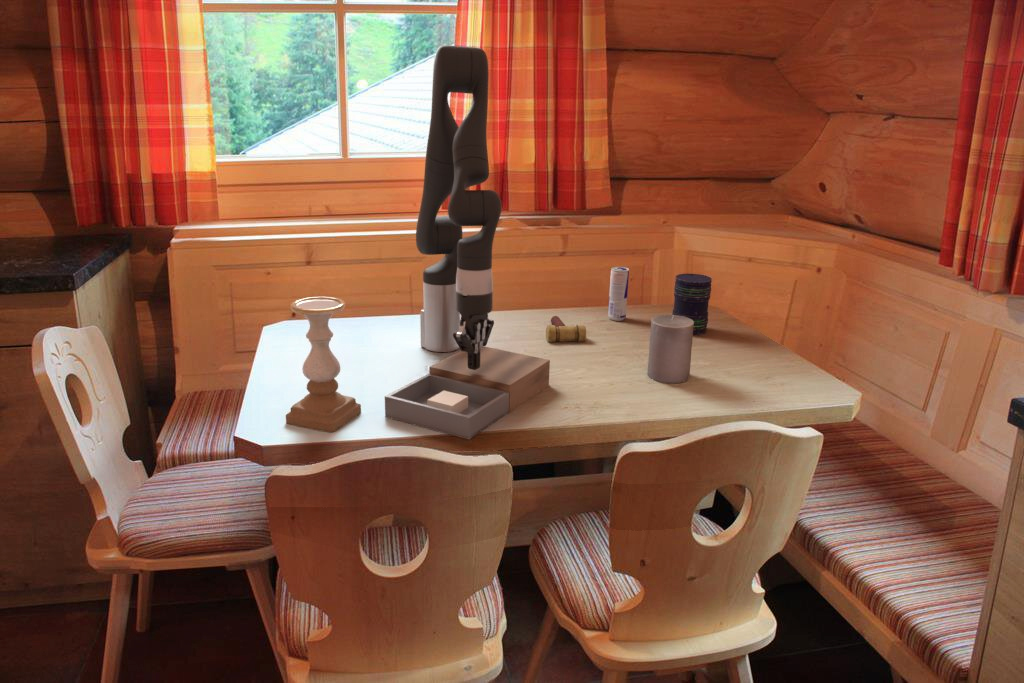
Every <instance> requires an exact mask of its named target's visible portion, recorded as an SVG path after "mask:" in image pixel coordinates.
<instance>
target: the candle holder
mask: <svg viewBox="0 0 1024 683" xmlns="http://www.w3.org/2000/svg"><path fill="white" fill-rule="evenodd" d="M345 307H346V302H345V301H344V300H343V299H341V298H338V297H333V296H309V297H302V298H298V299H296V300H294V301H292V302H291V303H290V310H291V311H292V312H293V313H296V314H298V315H304V317H305V319H306V320H308V323H309V329H308V331H307V333H306V334H305V338H306V339H307V340H308V342H309V343H310V345H311V348H310V352H309V353H308V355H307V356H306V358H305V360H304V362H303V364H302V374H303V376H304V377H305V378H306V379H307V380H308V382H307V383H306V390H307V391H308V392H309V393H308V394H306V395H305V396H304V397H303V398H302V399H300V400H299V401H297V402H296V403H294V404H293V405H291V407H290V411H289V412H288V413H286V414H285V423H286V424H287V425H290V426H294V427H300V428H305V429H310V430H314V431H315V430H317V431H321V432H327V433H334V432H335V431H337V430H339V429H341V428H342V427H343V426H345V425H347V423H349V422H350V421H352V420H353V419H355V418H356V417H357V416H359V415H360V414H361V413H362V406H361V403H358V402H357V400H356V398H355V397H353V396H348V395H343V394H341V393H340V392H338V391H337V390H338V389H339V382H338V381H337V379H336V378H337V376H339V374H340V373H341V363H340V361H339V359H338V358H337V357H336V356H335V353H333V351H332V350H331V348H330V342H331V341H332V339H333V337H334V332H333V331H332V329H330V327H329V321H330V319H331V318H332V316H333V314H335V313H339V312H341V311H342V310H344V309H345Z"/></svg>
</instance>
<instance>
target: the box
mask: <svg viewBox="0 0 1024 683" xmlns="http://www.w3.org/2000/svg"><path fill="white" fill-rule="evenodd" d="M442 391H448V392H452V393H456V394H461V395H465V396H468V408H467V409H465V410H463V411H462V412H460V413H456V412H452V411H448V410H444V409H440V408H436V407H432V406H428V405H427V400H428V399H430V398H431V397H433V396H435V395H437V394H439V393H440V392H442ZM509 413H510V412H509V392H505V391H501V390H497V389H493V388H488V387H484V386H480V385H475V384H471V383H467V382H462V381H458V380H454V379H450V378H445V377H441V376H437V375H432V374H429V373H427V374H425V375H423V376H421V377H419V378H417V379H415V380H414V381H411V382H410V383H407V384H406V385H404V386H402V387H400V388H398V389H395V390H394V391H392V392H391V393H390V392H389V393H388V394H386V395H384V414H385V416H384V417H385V418H387V419H390V420H391V419H392V420H396V421H397V422H398V421H399V422H403V423H406V424H410V425H414V426H418V427H421V428H423V429H428V430H432V431H436V432H439V433H443V434H447V435H451V436H453V437H454V436H455V437H458V438H462V439H465V440H468V441H469V440H471V439H472V438H474V437H476V436H477V435H478V434H480V433H481V432H482V431H484V430H486V429H488V427H490V426H491V425H493V424H494V423H496V422H497V421H499V420H500V419H502V418H503V417H505V416H506V415H508V414H509Z"/></svg>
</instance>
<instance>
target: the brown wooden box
mask: <svg viewBox="0 0 1024 683" xmlns="http://www.w3.org/2000/svg"><path fill="white" fill-rule="evenodd" d="M550 363H551V359H547V358H542V357H538V356H537V357H536V356H533V355H527V354H523V353H518V352H514V351H513V352H512V351H508V350H503V349H498V348H493V347H489V346H483V347H482V351H480V368H478V369H476V370H472V369H469V368H468V353H467V352H465V351H461V350H460V351H457V352H455V353H454V354H451V355H450V356H448V357H445V358H444V359H441V360H439V361H438V362H435V363H434V364H432V365H429V370H428V371H429V372H428V374H432V375H437V376H441V377H445V378H450V379H454V380H458V381H462V382H467V383H471V384H475V385H480V386H484V387H488V388H493V389H497V390H501V391H505V392H509V413H510V412H512V411H513V410H515V409H516V408H518V407H519V406H520V405H522V404H523V403H525V402H526V401H528V400H529V399H531V398H532V397H534V396H535V395H536V394H538V393H539V392H541V391H543V390H544V389H545V388H547V387H548V386H549V385H550V365H551V364H550Z"/></svg>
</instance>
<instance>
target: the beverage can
mask: <svg viewBox="0 0 1024 683" xmlns="http://www.w3.org/2000/svg"><path fill="white" fill-rule="evenodd" d="M610 269H611V270H610V276H609V277H610V278H609V279H610V280H609V295H608V298H609V299H608V309H607V311H608V312H607V317H608V318H609V319H610V320H611V321H616V322H620V321H624V319H625V318H626V317H627V307H628V306H627V303H628V289H629V276H630V272H629V271H630V268H628V267H624V266H613V267H611V268H610Z"/></svg>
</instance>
